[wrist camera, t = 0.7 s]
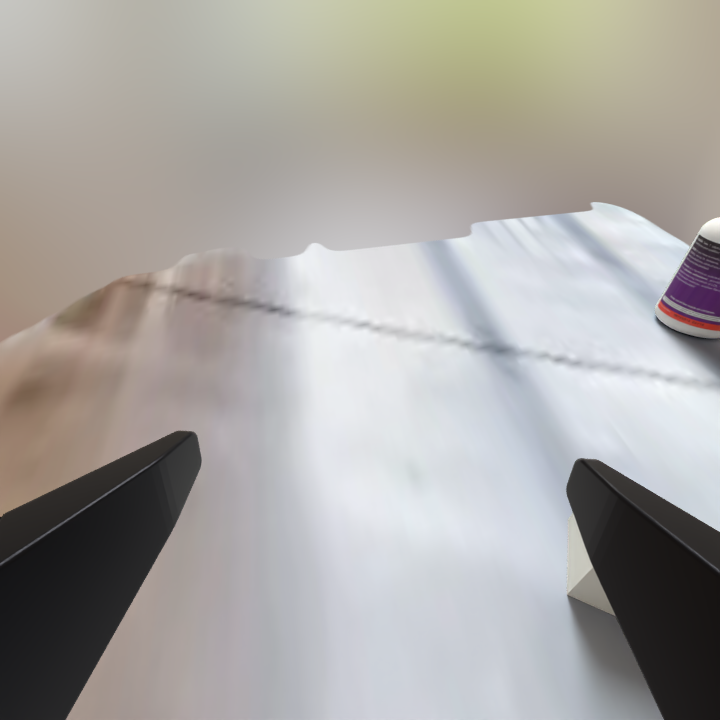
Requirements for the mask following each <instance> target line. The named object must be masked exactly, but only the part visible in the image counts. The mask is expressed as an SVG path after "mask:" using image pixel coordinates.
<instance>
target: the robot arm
mask: <svg viewBox="0 0 720 720" xmlns="http://www.w3.org/2000/svg"><path fill="white" fill-rule="evenodd" d="M201 462H202V459H201V453H200V448H199V442H198V437H197V435H196V433H194V432H192V431H176V432H174V433H172V434H170V435H167V436H165V437H163V438H161V439H159V440H157V441H155V442H153V443H151V444H149V445H147V446H145V447H142V448H140V449H138V450H136V451H134V452H132V453H130V454H128V455H126V456H124V457H122V458H120V459H117V460H115V461H113V462H111V463H109V464H107V465H105V466H103V467H101V468H99V469H97V470H95V471H92V472H90V473H88V474H86V475H84V476H82V477H80V478H78V479H76V480H74V481H72V482H69V483H67V484H65V485H63V486H61V487H59V488H57V489H55V490H53V491H51V492H49V493H47V494H44V495H42V496H40V497H38V498H36V499H34V500H32V501H30V502H28V503H26V504H24V505H22V506H19V507H17V508H15V509H13V510H11V511H9V512H7V513H5V514H3V516H2V517H0V720H66V718H67V716H68V714H69V713H70V711H71V709H72V707H73V706H74V704H75V702H76V700H77V699H78V697H79V695H80V693H81V691H82V690H83V688H84V686H85V684H86V683H87V681H88V679H89V677H90V676H91V674H92V672H93V670H94V668H95V667H96V665H97V663H98V661H99V660H100V658H101V656H102V654H103V653H104V651H105V649H106V647H107V645H108V644H109V642H110V640H111V638H112V637H113V635H114V633H115V631H116V630H117V628H118V626H119V624H120V622H121V621H122V619H123V617H124V615H125V614H126V612H127V610H128V608H129V607H130V605H131V603H132V601H133V599H134V598H135V596H136V594H137V592H138V591H139V589H140V587H141V585H142V584H143V582H144V580H145V578H146V576H147V575H148V573H149V571H150V569H151V568H152V566H153V564H154V562H155V561H156V559H157V557H158V555H159V553H160V552H161V550H162V548H163V546H164V545H165V543H166V541H167V539H168V538H169V536H170V534H171V532H172V530H173V528H174V526H175V524H176V522H177V520H178V518H179V516H180V513H181V511H182V509H183V507H184V504H185V502H186V500H187V498H188V495H189V493H190V491H191V488H192V486H193V484H194V482H195V479H196V477H197V475H198V472H199V470H200V467H201ZM566 492H567V497H568V500H569V503H570V506H571V508H572V511H573V514H574V517H575V520H576V523H577V526H578V528H579V531H580V534H581V537H582V540H583V543H584V546H585V548H586V551H587V554H588V556H589V559H590V562H591V564H592V566H593V568H594V571H595V573H596V575H597V577H598V579H599V581H600V584H601V586H602V588H603V590H604V592H605V594H606V596H607V599H608V601H609V603H610V605H611V607H612V609H613V611H614V614H615V616H616V618H617V620H618V622H619V624H620V626H621V629H622V631H623V633H624V635H625V637H626V639H627V641H628V644H629V646H630V648H631V650H632V652H633V654H634V656H635V659H636V661H637V663H638V665H639V667H640V669H641V672H642V674H643V676H644V678H645V680H646V682H647V684H648V687H649V689H650V691H651V693H652V695H653V697H654V699H655V702H656V704H657V706H658V708H659V710H660V712H661V714H662V717H663V719H664V720H720V532H719V531H717V530H715V529H714V528H712V527H710V526H709V525H707V524H705V523H703V522H702V521H700V520H698V519H697V518H695V517H693V516H692V515H690V514H688V513H687V512H685V511H683V510H682V509H680V508H678V507H677V506H675V505H673V504H671V503H670V502H668V501H666V500H665V499H663V498H661V497H660V496H658V495H656V494H655V493H653V492H651V491H650V490H648V489H646V488H645V487H643V486H641V485H640V484H638V483H636V482H634V481H633V480H631V479H629V478H628V477H626V476H624V475H623V474H621V473H619V472H618V471H616V470H614V469H613V468H611V467H609V466H608V465H606V464H604V463H603V462H601V461H599V460H596V459H584V458H580V459H577V460H576V461H575V463H574V466H573V469H572V472H571V474H570V477H569V480H568V483H567V488H566Z"/></svg>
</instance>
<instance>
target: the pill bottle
mask: <svg viewBox="0 0 720 720" xmlns="http://www.w3.org/2000/svg"><path fill="white" fill-rule="evenodd" d="M655 314H656V316H657V317H658V319H659V320H660V321H661V322H663V323H664V324H665V325H667V326H668V327H670V328H672V329H674V330H676V331H679V332H682V333H685V334H688V335H692V336H696V337H702V338H712V339H716V338H720V217H719V218H716V219H713V220H711V221H709V222H707V223H706V224H704V225H703V226H702V228H701V229H700V231H699V233H698V234H697V236H696V238H695V239H694V241H693V243H692V245H691V246H690V248H689V250H688V251H687V253H686V255H685V257H684V258H683V260H682V262H681V263H680V265H679V267H678V269H677V270H676V272H675V274H674V275H673V277H672V279H671V281H670V282H669V284H668V286H667V287H666V289H665V291H664V292H663V294H662V296H661V297H660V299H659V301H658V303H657V305H656V306H655Z"/></svg>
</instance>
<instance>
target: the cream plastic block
mask: <svg viewBox="0 0 720 720" xmlns="http://www.w3.org/2000/svg"><path fill="white" fill-rule="evenodd" d="M567 595H569V596H571V597H573V598H576V599H578V600H580V601H582V602H585V603H587V604H589V605H591V606H593V607H596V608H598V609H600V610H602V611H605V612H607V613H609V614H611V615H614V616H615V614H614V611H613V609H612V607H611V605H610V603H609V601H608V599H607V596H606V594H605V592H604V590H603V588H602V586H601V584H600V581H599V579H598V577H597V575H596V573H595V571H594V568H593V566H592V564H591V562H590V559H589V556H588V554H587V551H586V548H585V546H584V543H583V540H582V537H581V534H580V531H579V528H578V526H577V523H576V520H575V517H574V514H573V513H572V515H571V516H570V517H569V519H568V550H567Z"/></svg>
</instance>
